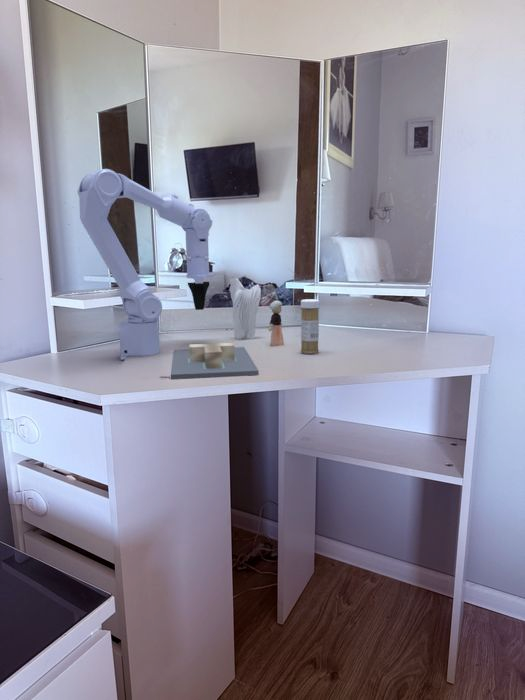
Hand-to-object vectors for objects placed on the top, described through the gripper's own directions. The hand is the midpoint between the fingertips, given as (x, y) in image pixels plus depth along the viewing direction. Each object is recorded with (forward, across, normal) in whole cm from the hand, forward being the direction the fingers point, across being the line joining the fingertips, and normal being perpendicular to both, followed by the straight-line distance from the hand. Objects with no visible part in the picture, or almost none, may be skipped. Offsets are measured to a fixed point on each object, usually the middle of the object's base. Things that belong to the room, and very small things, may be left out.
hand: (199, 309), depth 128 cm
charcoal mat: (+10, -19, -2) cm, 22 cm away
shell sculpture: (+11, +8, -13) cm, 19 cm away
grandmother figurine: (+11, -4, -20) cm, 23 cm away
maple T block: (+9, -23, -2) cm, 25 cm away
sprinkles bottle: (+11, -12, -27) cm, 31 cm away
